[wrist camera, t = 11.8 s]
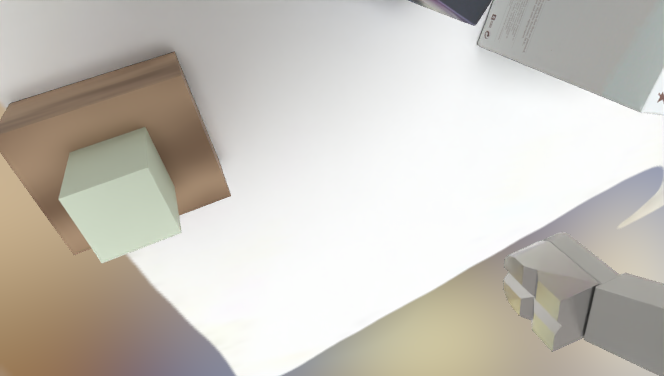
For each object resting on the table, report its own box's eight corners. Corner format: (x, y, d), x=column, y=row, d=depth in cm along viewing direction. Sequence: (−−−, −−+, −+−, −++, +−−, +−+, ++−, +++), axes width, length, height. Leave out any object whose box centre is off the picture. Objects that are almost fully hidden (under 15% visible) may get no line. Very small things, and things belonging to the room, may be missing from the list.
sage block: (69, 152, 31) (58, 199, 26) (145, 126, 32) (147, 167, 27) (105, 211, 34) (101, 263, 29) (174, 186, 35) (181, 232, 30)
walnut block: (9, 103, 34) (-11, 137, 29) (174, 51, 36) (181, 75, 31) (80, 211, 39) (73, 255, 35) (219, 161, 41) (231, 195, 37)
